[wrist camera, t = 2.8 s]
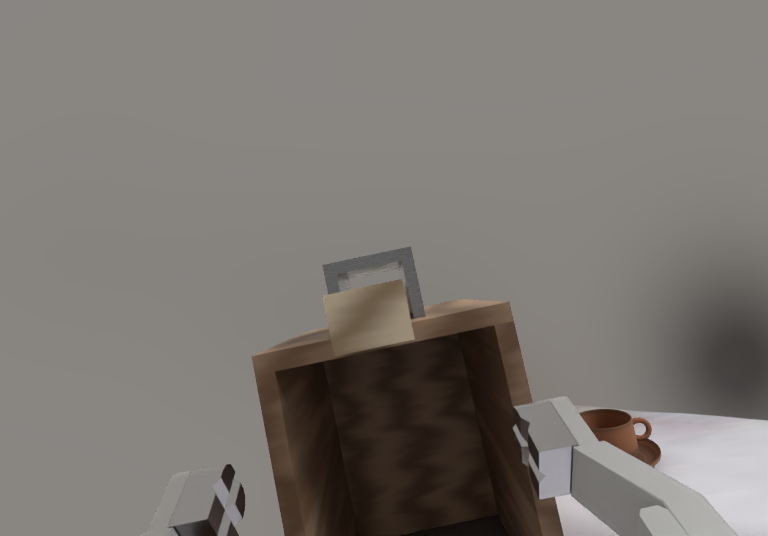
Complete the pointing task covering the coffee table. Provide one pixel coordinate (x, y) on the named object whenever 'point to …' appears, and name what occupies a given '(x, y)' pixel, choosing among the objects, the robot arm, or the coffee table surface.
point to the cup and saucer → (623, 433)
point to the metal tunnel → (376, 263)
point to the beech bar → (368, 317)
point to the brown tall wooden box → (402, 429)
